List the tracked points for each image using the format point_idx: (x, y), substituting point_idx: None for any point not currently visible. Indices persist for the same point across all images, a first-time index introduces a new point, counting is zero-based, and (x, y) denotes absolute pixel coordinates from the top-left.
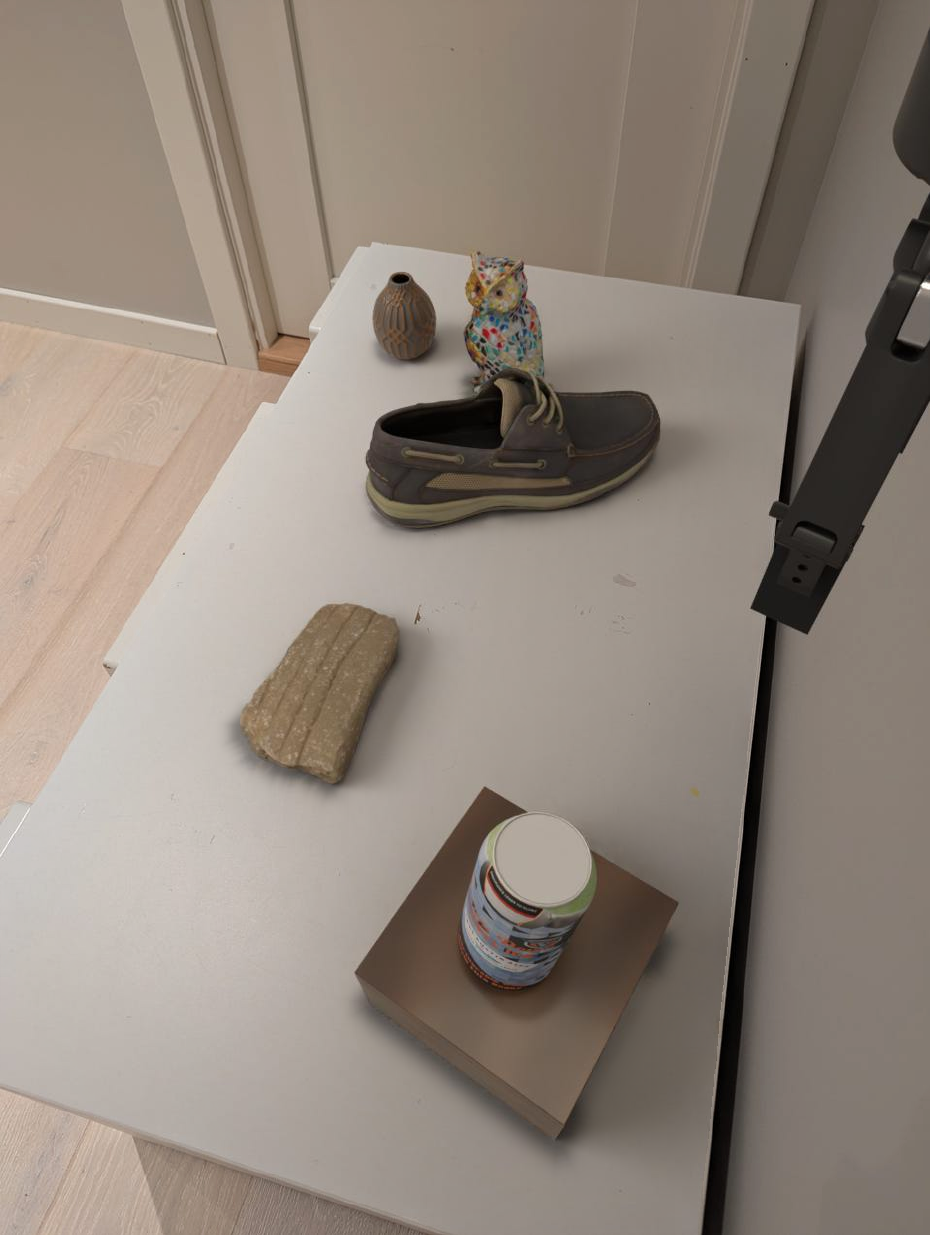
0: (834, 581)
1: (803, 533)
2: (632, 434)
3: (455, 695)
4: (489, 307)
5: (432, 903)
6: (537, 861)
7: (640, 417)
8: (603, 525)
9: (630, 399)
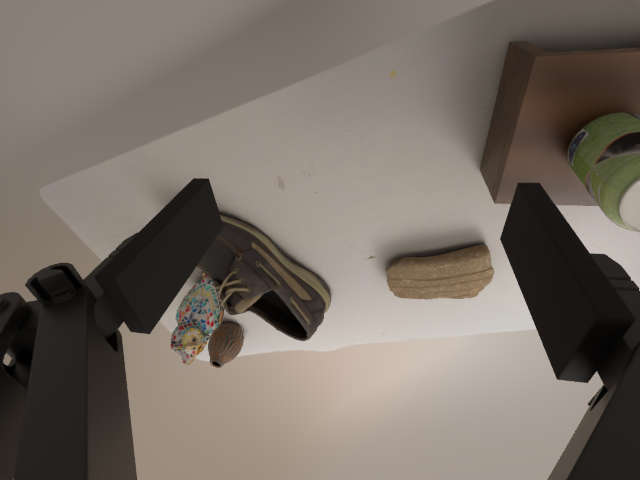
0: (583, 246)
1: None
2: None
3: (404, 222)
4: (203, 336)
5: (587, 192)
6: None
7: None
8: (255, 209)
9: None
